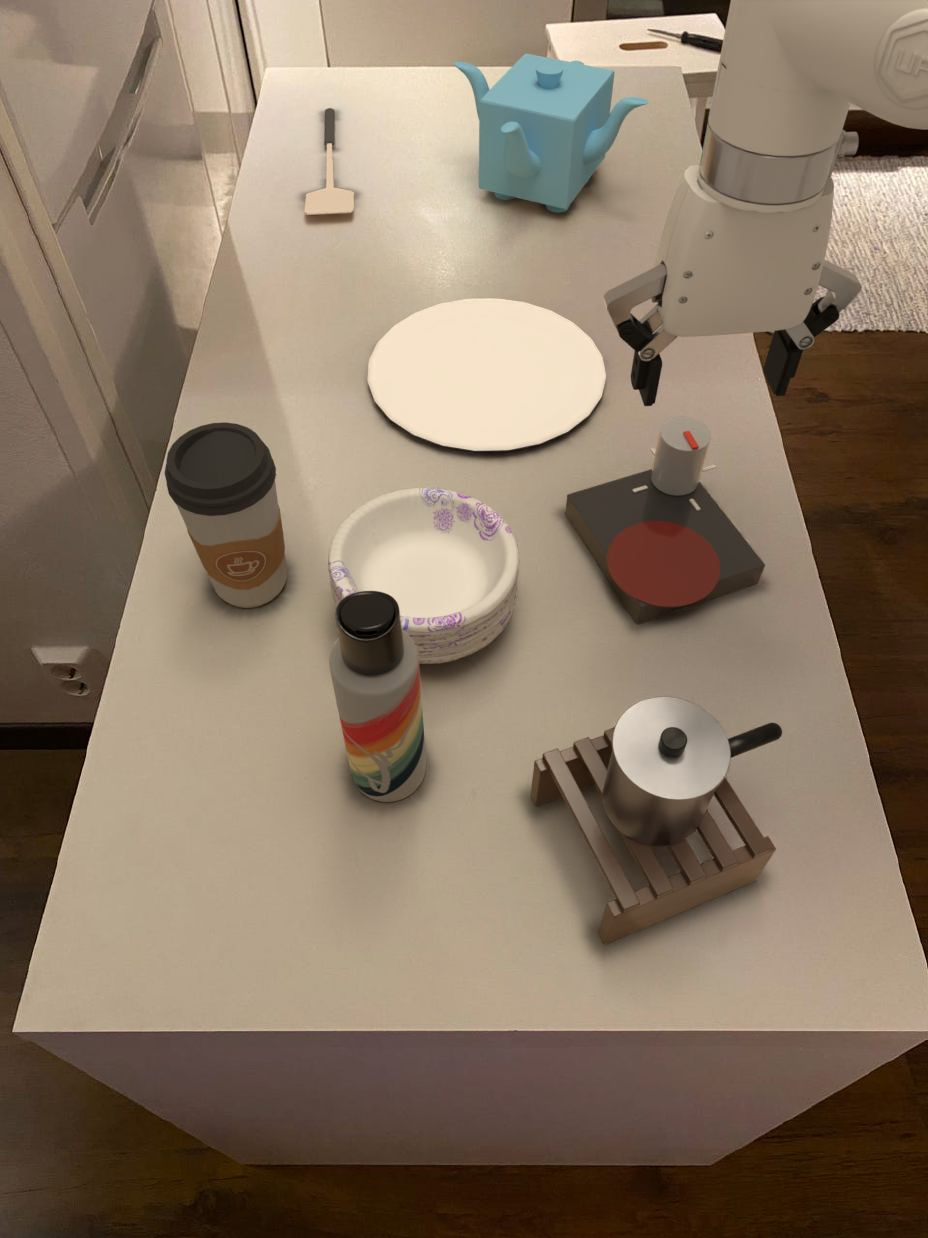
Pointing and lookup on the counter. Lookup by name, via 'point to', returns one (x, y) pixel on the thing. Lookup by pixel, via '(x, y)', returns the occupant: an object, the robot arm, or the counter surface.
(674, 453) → the hob knob
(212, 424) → the coffee cup
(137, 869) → the counter surface
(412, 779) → the lotion bottle
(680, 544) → the burner ring
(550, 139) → the teakettle
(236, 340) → the counter surface
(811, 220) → the robot arm
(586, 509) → the hob
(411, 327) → the plate
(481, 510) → the paper bowls
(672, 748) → the saucepan
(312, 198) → the spatula
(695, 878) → the drying rack
